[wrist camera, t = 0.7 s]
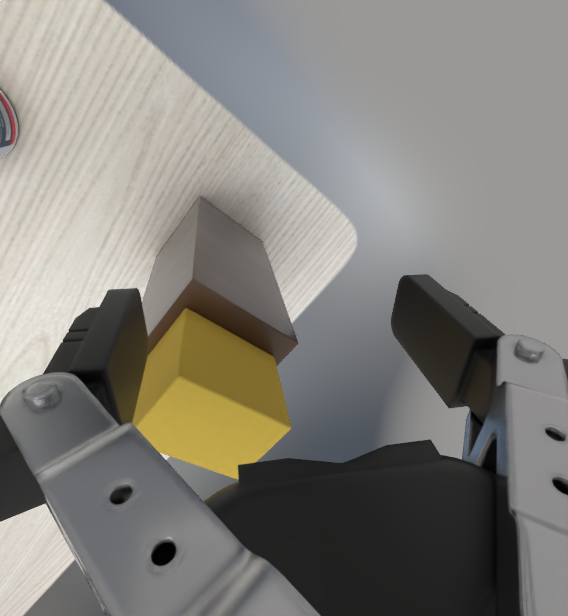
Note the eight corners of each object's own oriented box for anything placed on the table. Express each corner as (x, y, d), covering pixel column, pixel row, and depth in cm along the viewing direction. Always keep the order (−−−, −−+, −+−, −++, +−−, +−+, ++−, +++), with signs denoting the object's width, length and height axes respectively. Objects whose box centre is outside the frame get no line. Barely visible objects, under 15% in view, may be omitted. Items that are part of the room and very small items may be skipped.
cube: (142, 360, 17) (123, 441, 13) (185, 306, 16) (178, 375, 12) (232, 401, 19) (238, 480, 15) (274, 356, 18) (292, 428, 14)
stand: (156, 256, 29) (118, 374, 17) (199, 195, 27) (192, 278, 15) (219, 295, 31) (225, 420, 19) (262, 241, 30) (299, 343, 18)
